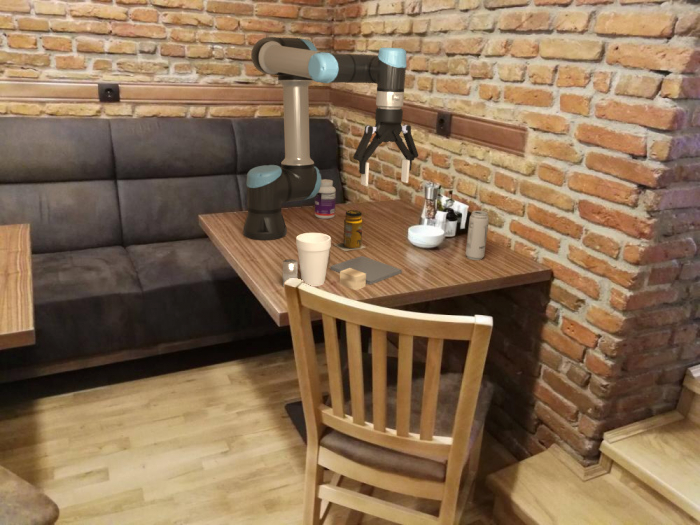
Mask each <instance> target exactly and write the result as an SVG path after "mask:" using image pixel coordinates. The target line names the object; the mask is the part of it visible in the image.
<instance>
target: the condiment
mask: <svg viewBox="0 0 700 525" xmlns="http://www.w3.org/2000/svg"><path fill="white" fill-rule="evenodd" d="M362 217H363V216H362V211H360V210H356V209H350V210H346V212H345V218H344V220H343V221H344V222H343V242H341V243H334V244H333V246H335V247H337V249H340V250H341V251H344V252H348V251H353V250H361V249H366V248H367V246H364V245H363V244H362V242H363V241H362V240H363V239H362V237H363V235H362V234H363V219H362Z"/></svg>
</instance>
